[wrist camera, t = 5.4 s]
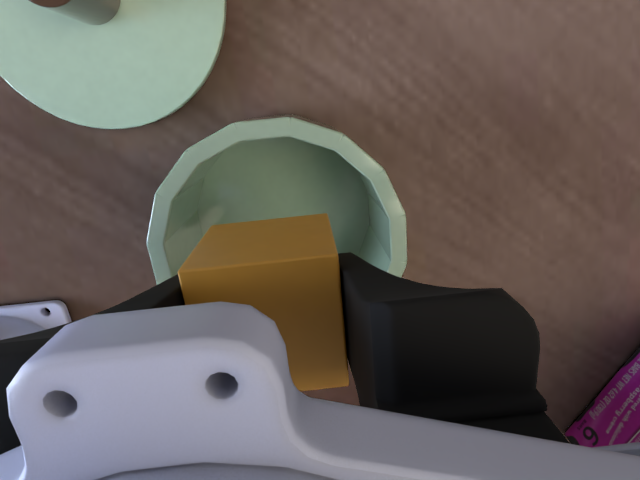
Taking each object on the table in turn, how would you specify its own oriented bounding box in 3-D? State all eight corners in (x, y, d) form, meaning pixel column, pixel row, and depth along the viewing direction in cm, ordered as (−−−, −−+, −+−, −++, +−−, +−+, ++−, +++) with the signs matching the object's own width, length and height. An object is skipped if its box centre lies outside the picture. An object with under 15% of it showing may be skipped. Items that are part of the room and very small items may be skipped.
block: (230, 326, 15) (206, 403, 11) (210, 224, 13) (176, 271, 10) (337, 315, 15) (349, 387, 11) (327, 212, 14) (338, 253, 10)
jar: (208, 308, 23) (178, 373, 18) (169, 126, 20) (117, 133, 14) (383, 289, 23) (409, 348, 18) (374, 105, 20) (403, 104, 14)
